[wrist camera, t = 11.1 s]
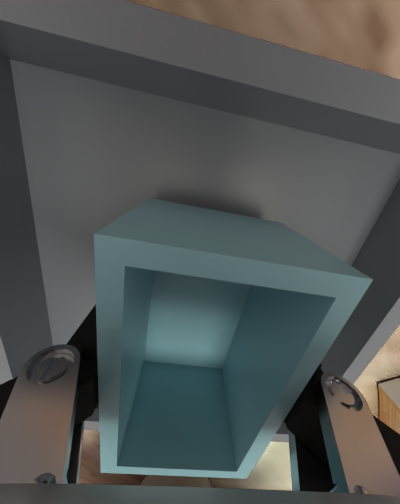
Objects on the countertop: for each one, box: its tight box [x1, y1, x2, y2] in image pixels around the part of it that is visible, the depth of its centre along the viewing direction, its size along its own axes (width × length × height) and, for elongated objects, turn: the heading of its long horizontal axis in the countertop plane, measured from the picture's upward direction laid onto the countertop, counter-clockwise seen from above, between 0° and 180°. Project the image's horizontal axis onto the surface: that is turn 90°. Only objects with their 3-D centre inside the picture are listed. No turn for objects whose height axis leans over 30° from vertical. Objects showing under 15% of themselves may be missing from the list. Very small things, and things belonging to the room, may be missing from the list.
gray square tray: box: [0, 0, 400, 442], centre depth 11 cm, size 20×20×4 cm
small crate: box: [94, 198, 373, 479], centre depth 8 cm, size 10×6×5 cm, turn 169°
